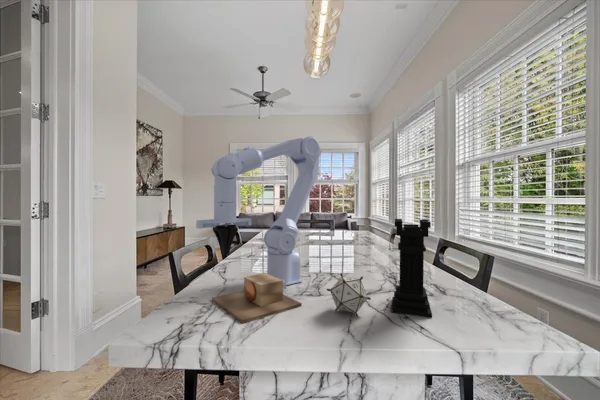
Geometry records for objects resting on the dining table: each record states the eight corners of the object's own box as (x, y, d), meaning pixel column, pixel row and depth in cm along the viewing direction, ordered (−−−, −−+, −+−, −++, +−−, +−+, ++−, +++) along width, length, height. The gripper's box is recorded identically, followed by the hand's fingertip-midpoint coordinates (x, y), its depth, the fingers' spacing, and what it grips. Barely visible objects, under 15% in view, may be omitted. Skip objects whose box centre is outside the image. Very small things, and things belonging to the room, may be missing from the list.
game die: (348, 333, 60) (336, 305, 54) (328, 306, 67) (315, 278, 61) (381, 309, 62) (373, 279, 56) (358, 285, 69) (348, 257, 63)
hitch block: (265, 288, 78) (265, 268, 77) (301, 305, 65) (301, 282, 65) (212, 300, 68) (212, 277, 68) (242, 323, 56) (242, 296, 56)
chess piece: (428, 304, 67) (428, 219, 66) (432, 317, 59) (432, 222, 59) (392, 300, 69) (393, 218, 69) (391, 312, 62) (392, 221, 61)
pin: (278, 290, 73) (278, 274, 73) (288, 294, 70) (288, 277, 70) (243, 298, 67) (243, 280, 67) (252, 303, 64) (252, 285, 64)
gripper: (243, 202, 82) (243, 248, 82) (192, 202, 73) (192, 254, 73) (255, 202, 76) (255, 252, 77) (201, 203, 67) (201, 259, 68)
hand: (225, 254), depth 74 cm, fingers closed
